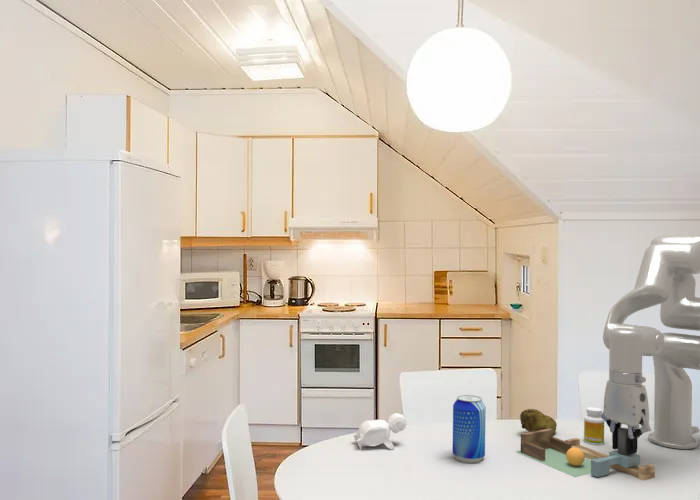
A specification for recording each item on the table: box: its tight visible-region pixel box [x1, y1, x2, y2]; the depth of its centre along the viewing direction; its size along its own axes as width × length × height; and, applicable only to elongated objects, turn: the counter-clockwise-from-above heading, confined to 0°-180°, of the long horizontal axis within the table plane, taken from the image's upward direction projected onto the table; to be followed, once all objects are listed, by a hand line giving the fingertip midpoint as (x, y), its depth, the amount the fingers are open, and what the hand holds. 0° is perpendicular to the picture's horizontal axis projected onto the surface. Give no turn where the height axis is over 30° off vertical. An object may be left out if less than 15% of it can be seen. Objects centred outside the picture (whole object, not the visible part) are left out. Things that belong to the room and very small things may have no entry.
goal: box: [520, 428, 572, 461], centre depth 157 cm, size 11×8×5 cm
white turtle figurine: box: [353, 412, 407, 451], centre depth 163 cm, size 9×8×15 cm
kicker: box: [590, 427, 641, 478], centre depth 144 cm, size 14×5×10 cm, turn 118°
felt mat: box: [515, 448, 611, 478], centre depth 152 cm, size 13×20×1 cm, turn 28°
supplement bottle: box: [583, 406, 605, 446], centre depth 167 cm, size 5×5×10 cm
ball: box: [566, 448, 585, 466], centre depth 148 cm, size 4×4×4 cm
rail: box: [564, 437, 656, 481], centre depth 150 cm, size 4×23×3 cm, turn 28°
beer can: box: [452, 394, 487, 464], centre depth 153 cm, size 8×8×16 cm
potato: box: [519, 408, 558, 435], centre depth 174 cm, size 8×13×8 cm, turn 103°
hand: (624, 450), depth 146 cm, fingers closed on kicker, 3 cm apart
